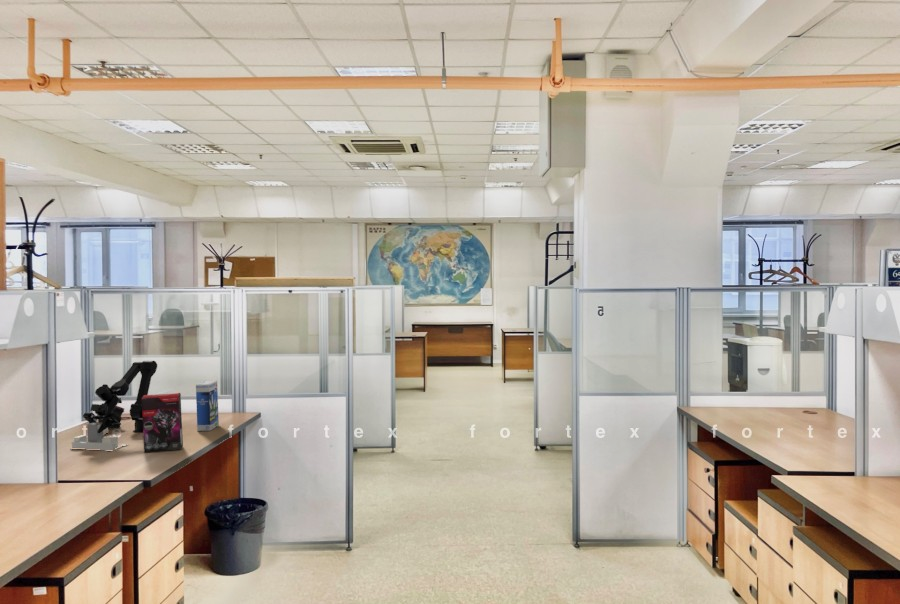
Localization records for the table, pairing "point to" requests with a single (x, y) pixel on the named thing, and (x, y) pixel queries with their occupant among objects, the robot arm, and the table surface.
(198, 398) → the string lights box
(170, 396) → the graphics card box
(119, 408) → the black flat block
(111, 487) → the table surface
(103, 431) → the block
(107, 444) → the rail plate
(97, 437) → the module
